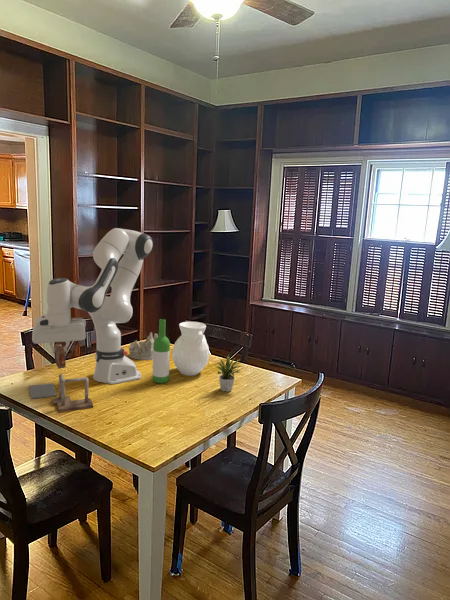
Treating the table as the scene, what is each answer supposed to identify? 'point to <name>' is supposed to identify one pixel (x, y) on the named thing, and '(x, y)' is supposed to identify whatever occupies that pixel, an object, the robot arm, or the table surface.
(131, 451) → the table surface
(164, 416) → the table surface
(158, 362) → the wine bottle
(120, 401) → the table surface
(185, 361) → the white ceramic vase
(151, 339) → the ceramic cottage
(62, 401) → the buzz wire frame
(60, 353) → the tin
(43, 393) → the mat
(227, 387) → the house plant
